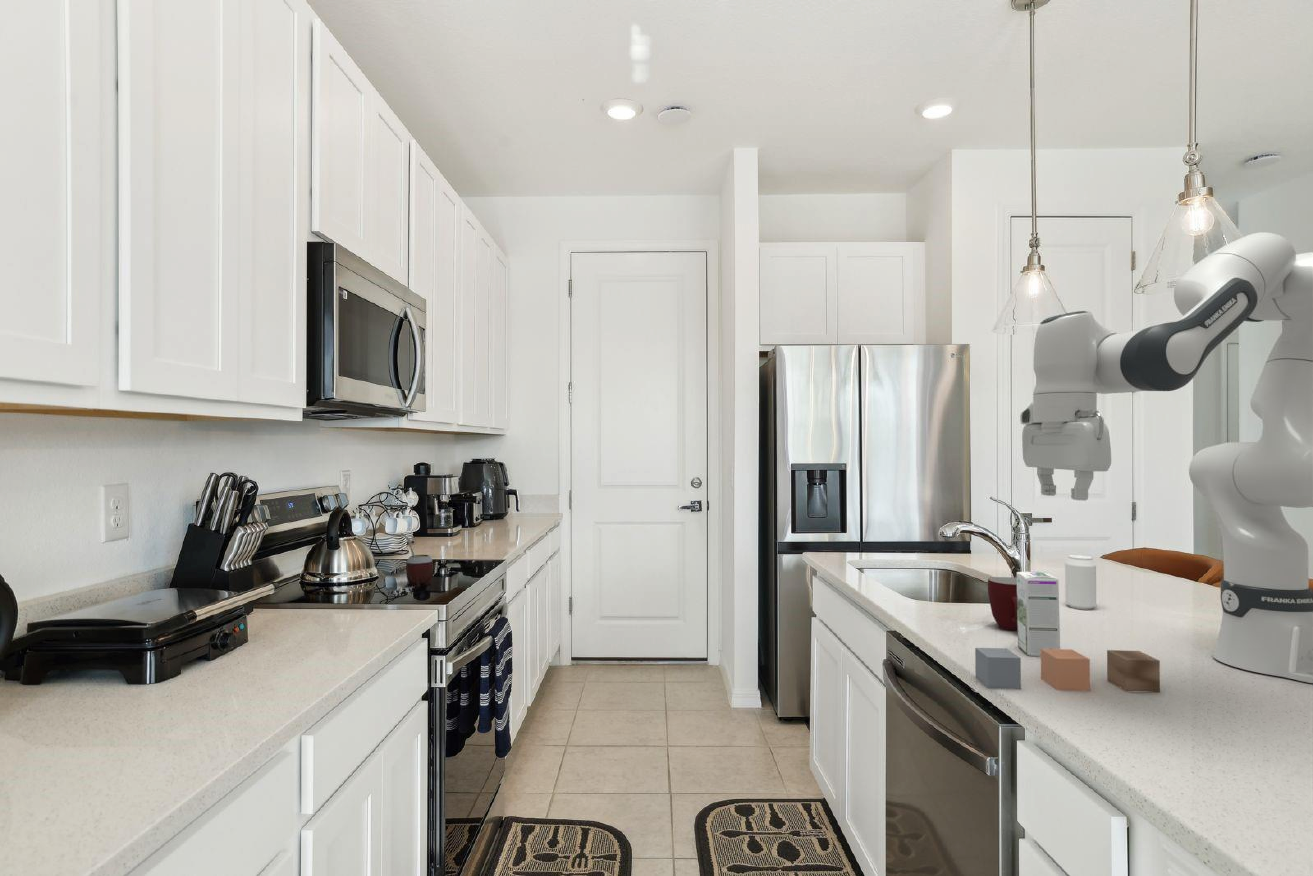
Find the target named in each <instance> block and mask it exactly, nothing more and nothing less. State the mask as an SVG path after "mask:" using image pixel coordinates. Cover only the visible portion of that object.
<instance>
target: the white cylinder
mask: <svg viewBox="0 0 1313 876" xmlns="http://www.w3.org/2000/svg"><path fill="white" fill-rule="evenodd" d="M1064 568H1065V569H1064V581H1065V582H1064V583H1065V585H1064V587H1065V594H1064V595H1065V597H1064V599H1065V604H1067V605H1068V606H1069V607H1070V608H1073V609H1077V610H1084V611H1085V610H1086V611H1087V610H1092V609H1093V608H1095V607H1096V606H1097V564H1096V562H1095V561H1094V558H1093V557H1092V556H1089V555H1084V554H1083V555H1082V554H1081V555H1080V554H1069V555H1068V558H1067V559H1066V560H1065V562H1064Z"/></svg>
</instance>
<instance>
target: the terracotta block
mask: <svg viewBox="0 0 1313 876" xmlns="http://www.w3.org/2000/svg"><path fill="white" fill-rule="evenodd" d="M1090 660H1091V659H1090V658H1088V657H1087V656H1085V655H1083V654H1082V653H1079V652H1077V651H1075V650H1074V649H1064V648H1063V649H1061V648H1060V649H1041V657H1040V680H1042V681H1043V682H1045V683H1046V684H1047V685H1049V686H1050V687H1052V688H1053V689H1055V690H1056V691H1087V692H1089V691H1091V672H1090V671H1091V666H1090V665H1091V663H1090Z"/></svg>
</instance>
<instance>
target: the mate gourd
mask: <svg viewBox="0 0 1313 876" xmlns="http://www.w3.org/2000/svg"><path fill="white" fill-rule="evenodd" d="M400 534H401V535H402V536H403V537H404V538H405V539H406V540H407V544H408V546H409V550H410V552H411V556H409V557H408V558H407V560H406V564H405V572H406V578H407V582H408V583H407V586H408V587H414V586H415V588H416V589H417V588H418V589H419V588H420V587H422V586H432V584H433V583H432V578H433V574H434V573H433V572H434V561H433V558H432V557H431V556H430V555H429V554H415V552H414V549H413V545H412V541H411V540H412V539H410V538H409V536H408V535H406V534H404V533H402V532H401V533H400Z"/></svg>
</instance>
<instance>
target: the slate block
mask: <svg viewBox="0 0 1313 876" xmlns="http://www.w3.org/2000/svg"><path fill="white" fill-rule="evenodd" d="M974 650H975V651H974V653H975V655H974V656H975V658H974V659H975V661H974V662H975V663H974V664H975V665H974V667H975V671H974V672H975V678H976V679H977V681H979V682H980V683H981V684H982V685H984V686H985V687H986V688H987V689H996V690H997V689H999V690H1000V689H1001V690H1002V689H1003V690H1022V687H1021V686H1022V681H1021V679H1022V678H1021V677H1022V673H1021V672H1022V671H1021V666H1022V664H1021V663H1022V662H1021V657H1020V656H1019V655H1017V654H1015V653H1014V652H1013V651H1011V650H1009V649H1008V648H1005V647H1002V648H1001V647H975V649H974Z"/></svg>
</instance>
